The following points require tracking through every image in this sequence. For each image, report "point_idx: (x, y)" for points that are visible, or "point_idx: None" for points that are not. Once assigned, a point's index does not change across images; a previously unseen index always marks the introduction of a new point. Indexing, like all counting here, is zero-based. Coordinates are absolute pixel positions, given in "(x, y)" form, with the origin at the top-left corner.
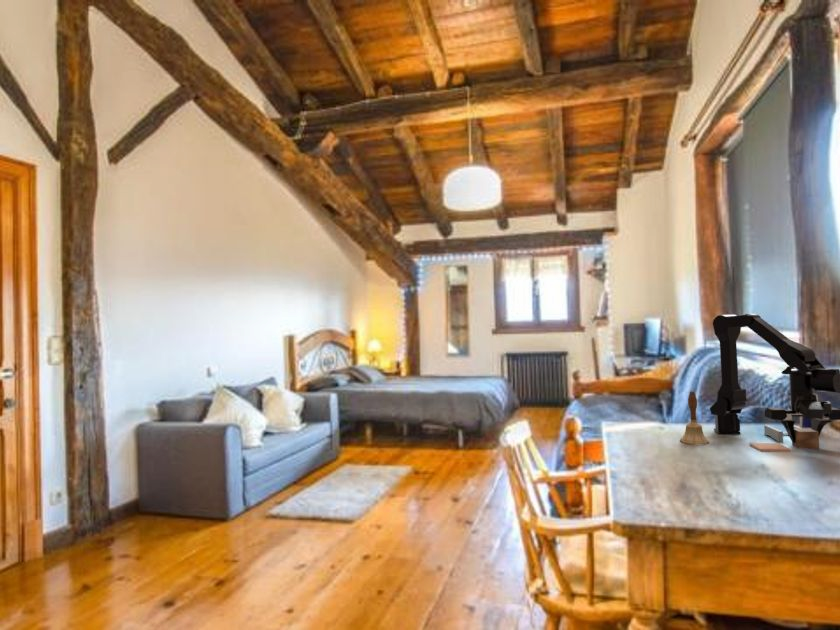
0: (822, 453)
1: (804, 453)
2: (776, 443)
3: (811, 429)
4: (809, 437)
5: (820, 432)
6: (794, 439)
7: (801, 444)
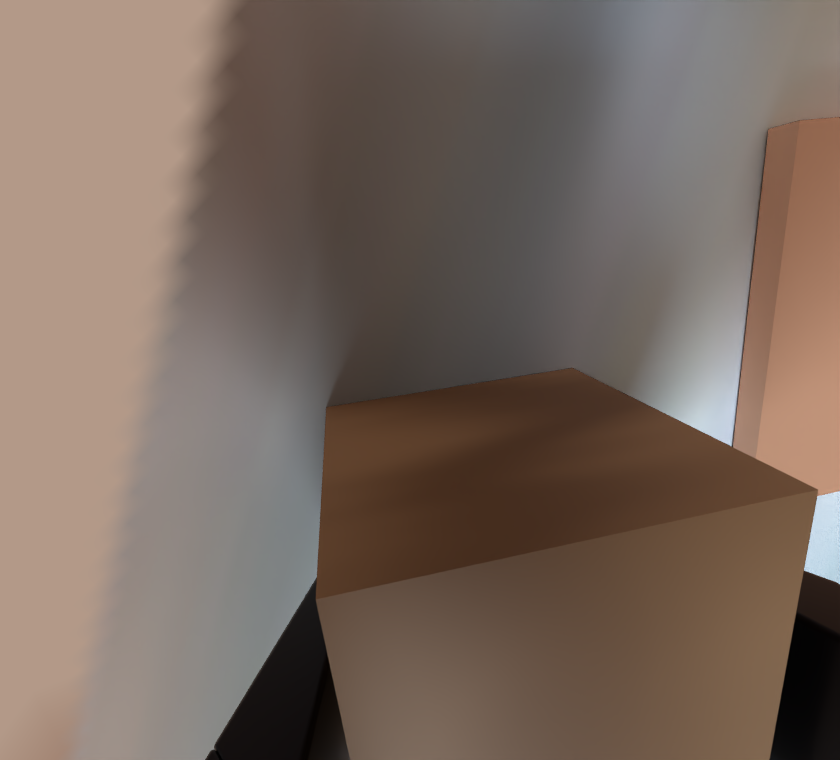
0: (380, 39)
1: (647, 9)
2: None
3: None
4: (509, 462)
5: (219, 741)
6: None
7: (583, 387)
